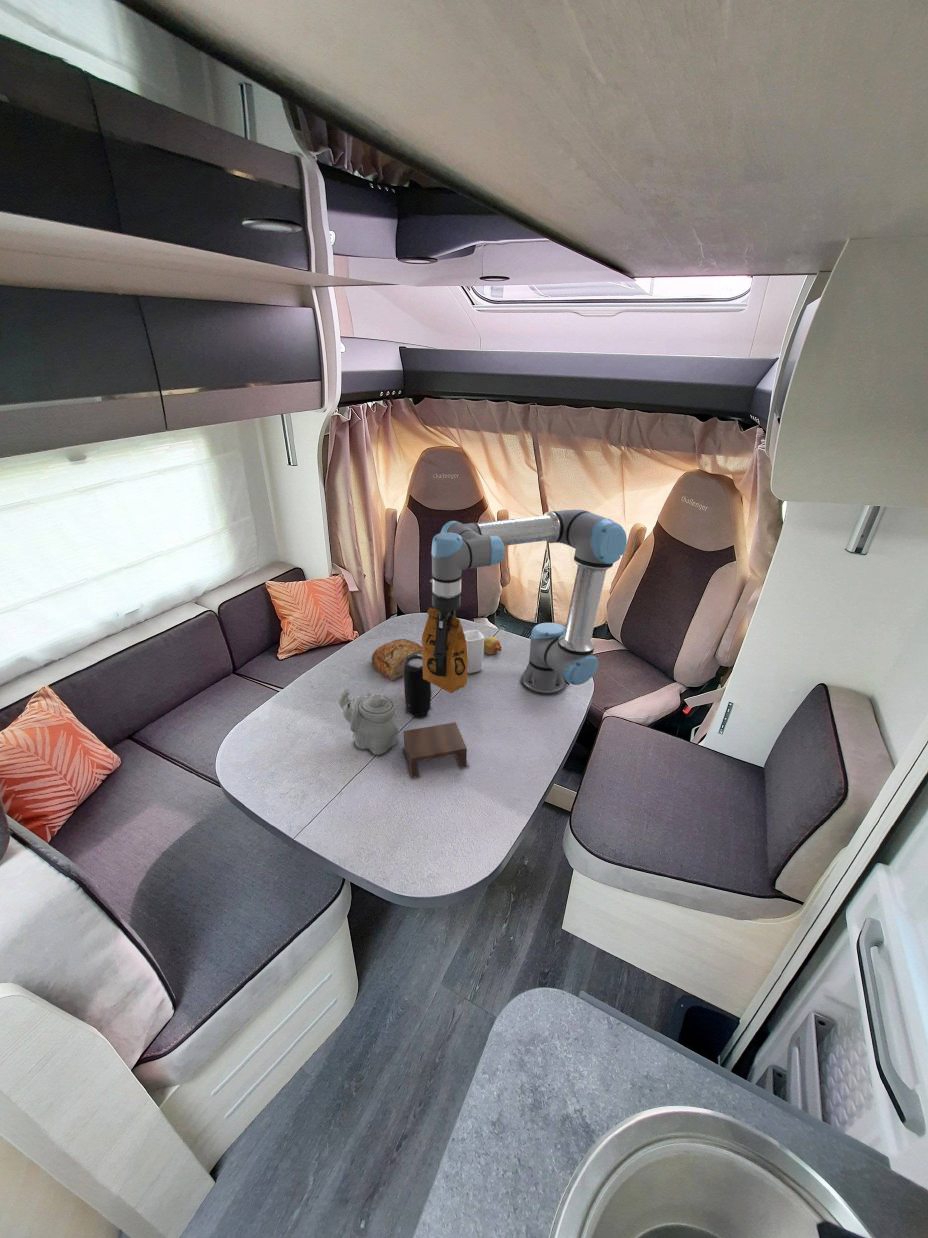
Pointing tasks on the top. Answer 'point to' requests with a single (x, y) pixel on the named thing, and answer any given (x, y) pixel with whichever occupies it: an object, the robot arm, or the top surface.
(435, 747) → the small table
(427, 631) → the coffee package
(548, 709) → the top surface
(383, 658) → the bread
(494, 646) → the fruit
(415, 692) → the portable speaker
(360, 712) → the teapot
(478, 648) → the cup
